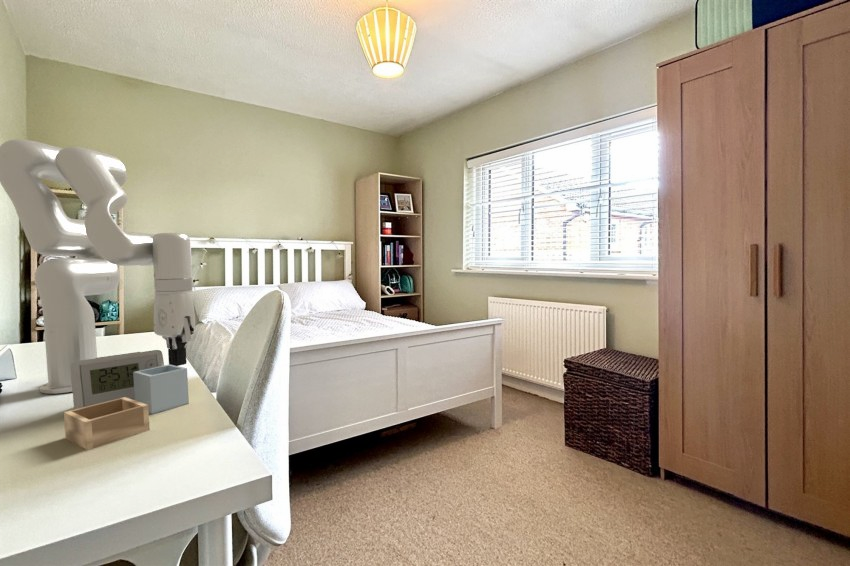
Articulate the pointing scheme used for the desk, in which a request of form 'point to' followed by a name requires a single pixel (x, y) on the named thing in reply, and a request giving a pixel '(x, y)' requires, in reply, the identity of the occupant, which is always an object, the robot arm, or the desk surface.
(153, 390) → the light blue pen cup
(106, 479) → the desk surface
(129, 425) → the oak box
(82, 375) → the digital clock
